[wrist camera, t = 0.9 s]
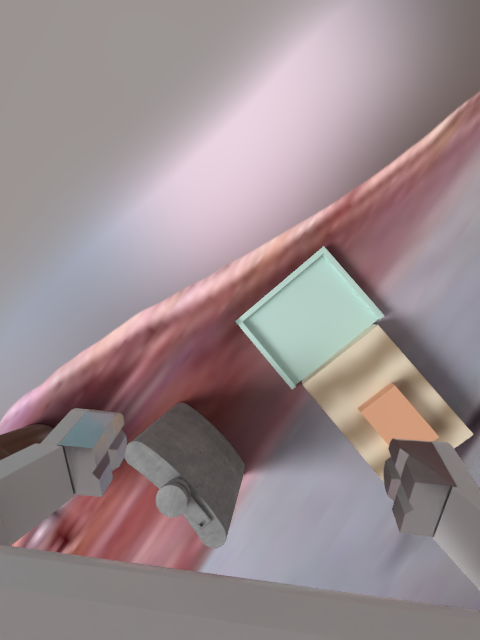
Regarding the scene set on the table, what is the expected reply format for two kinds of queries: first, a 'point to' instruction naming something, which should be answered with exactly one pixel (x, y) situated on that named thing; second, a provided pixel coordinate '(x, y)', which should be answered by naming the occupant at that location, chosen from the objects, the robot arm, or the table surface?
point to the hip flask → (190, 471)
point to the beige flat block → (367, 380)
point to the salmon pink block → (396, 417)
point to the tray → (308, 317)
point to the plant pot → (22, 439)
